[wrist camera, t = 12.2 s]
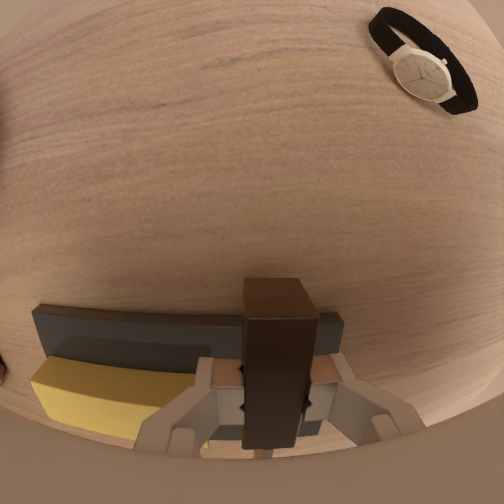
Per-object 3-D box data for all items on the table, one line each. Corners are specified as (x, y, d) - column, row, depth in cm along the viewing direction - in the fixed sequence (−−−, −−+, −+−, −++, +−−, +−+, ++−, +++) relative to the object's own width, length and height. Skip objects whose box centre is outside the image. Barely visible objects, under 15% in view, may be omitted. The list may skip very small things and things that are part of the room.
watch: (348, 46, 12) (376, 19, 8) (379, 6, 11) (406, -20, 7) (444, 134, 13) (484, 131, 10) (465, 87, 12) (501, 79, 9)
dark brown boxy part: (299, 277, 10) (321, 316, 7) (273, 463, 13) (278, 502, 10) (243, 276, 10) (245, 317, 7) (239, 464, 13) (240, 504, 10)
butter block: (207, 373, 15) (202, 410, 12) (211, 412, 16) (208, 448, 13) (49, 354, 14) (28, 380, 12) (65, 392, 15) (49, 418, 13)
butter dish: (338, 311, 16) (344, 321, 15) (314, 423, 18) (318, 435, 17) (40, 303, 15) (30, 311, 14) (79, 410, 17) (74, 419, 16)
